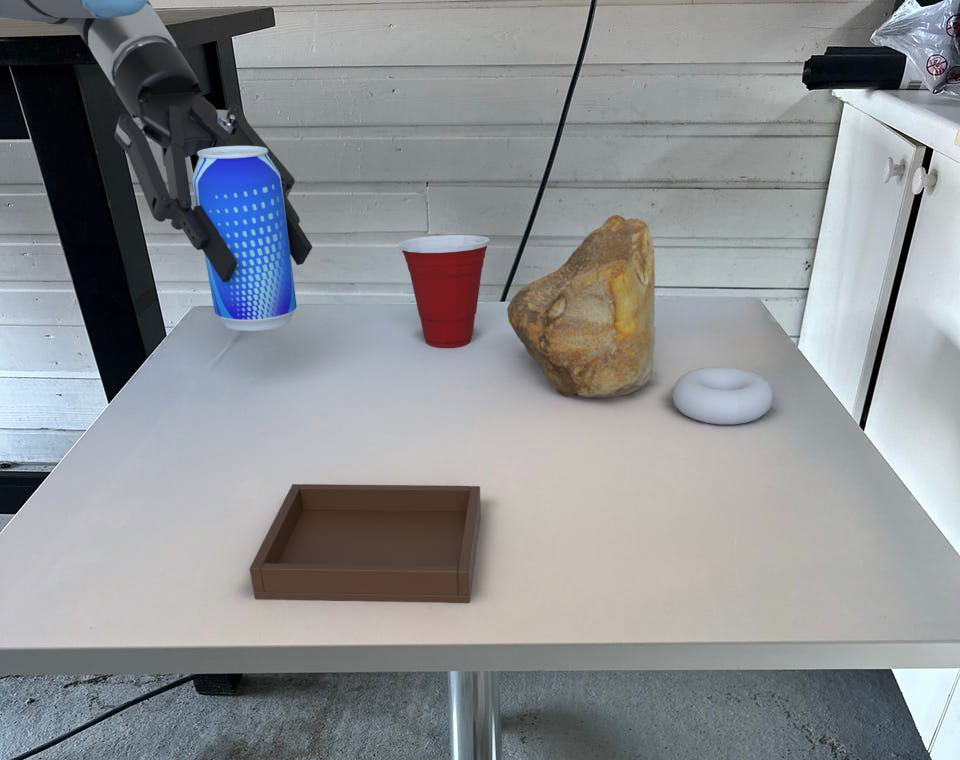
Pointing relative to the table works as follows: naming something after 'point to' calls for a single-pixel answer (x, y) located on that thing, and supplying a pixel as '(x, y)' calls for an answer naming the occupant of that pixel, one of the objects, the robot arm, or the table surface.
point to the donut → (722, 395)
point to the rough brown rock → (594, 314)
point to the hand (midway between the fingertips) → (268, 264)
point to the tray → (371, 544)
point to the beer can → (247, 236)
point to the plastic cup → (446, 284)
